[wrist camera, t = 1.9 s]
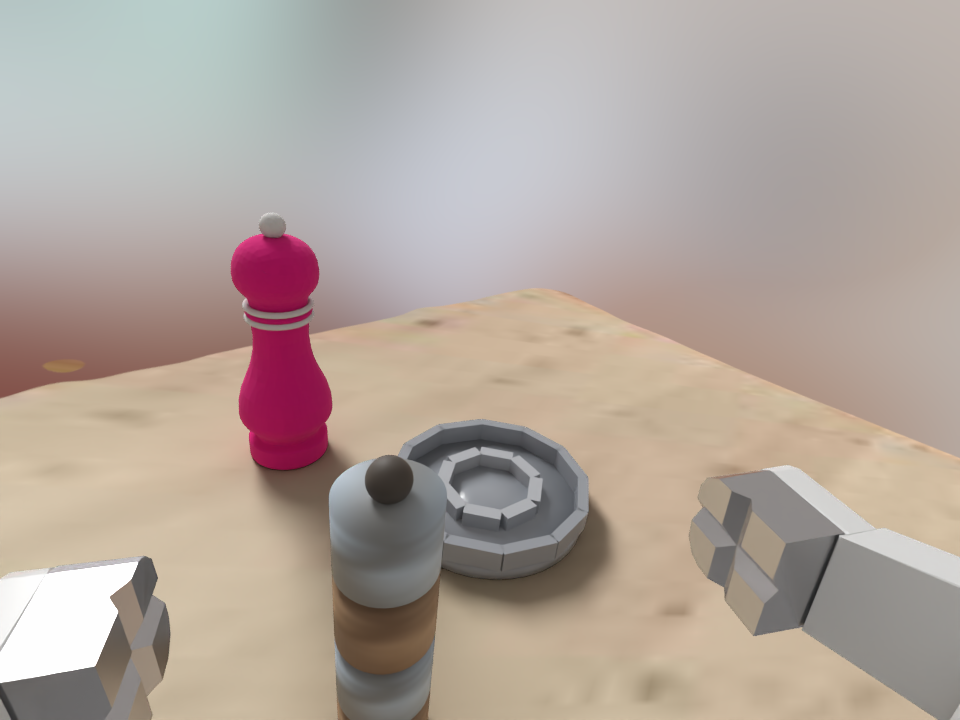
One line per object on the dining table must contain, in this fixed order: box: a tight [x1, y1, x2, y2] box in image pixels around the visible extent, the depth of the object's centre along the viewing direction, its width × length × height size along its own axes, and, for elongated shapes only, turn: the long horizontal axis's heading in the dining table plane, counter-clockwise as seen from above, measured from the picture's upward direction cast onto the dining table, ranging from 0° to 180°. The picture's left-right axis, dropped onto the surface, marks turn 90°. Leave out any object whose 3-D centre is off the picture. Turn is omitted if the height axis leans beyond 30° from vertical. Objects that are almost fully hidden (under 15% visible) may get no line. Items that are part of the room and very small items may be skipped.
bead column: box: [329, 455, 447, 720], centre depth 24 cm, size 4×4×17 cm
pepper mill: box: [231, 213, 332, 470], centre depth 43 cm, size 7×7×20 cm
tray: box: [398, 419, 589, 580], centre depth 43 cm, size 15×15×3 cm
